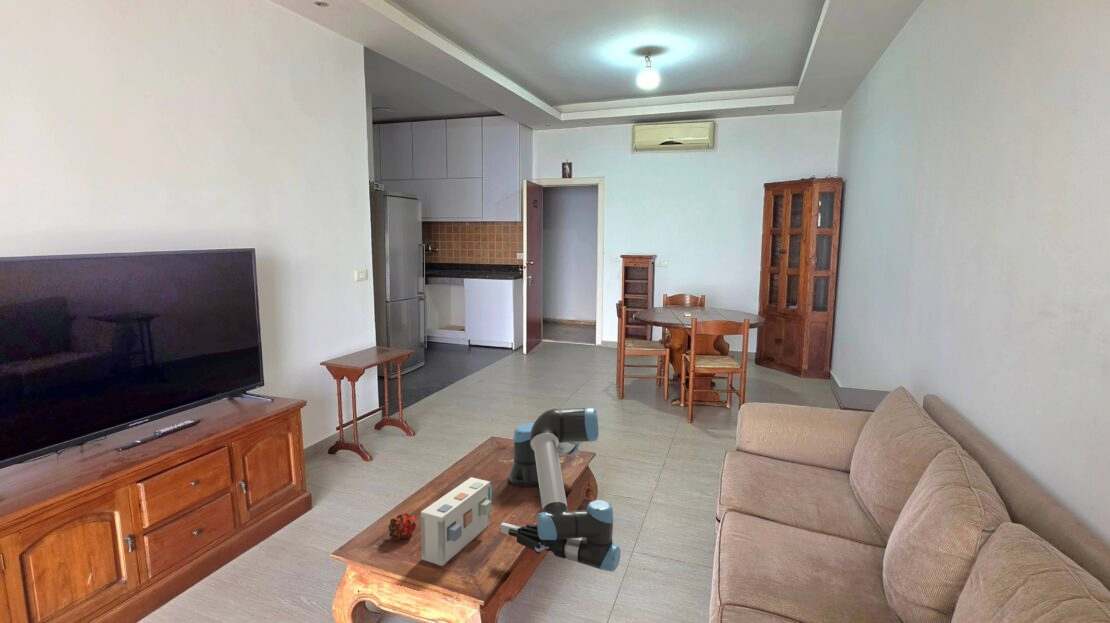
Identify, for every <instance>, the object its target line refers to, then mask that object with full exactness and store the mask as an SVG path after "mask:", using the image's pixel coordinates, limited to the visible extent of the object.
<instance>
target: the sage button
mask: <svg viewBox="0 0 1110 623" xmlns="http://www.w3.org/2000/svg"><path fill="white" fill-rule="evenodd" d="M489 512H490V513H491V512H492V500H491V501H489V500H485V499H483V500H482V501H480V502H479V514H482V515H487V514H488V513H489Z"/></svg>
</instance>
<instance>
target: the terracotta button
mask: <svg viewBox="0 0 1110 623" xmlns="http://www.w3.org/2000/svg"><path fill="white" fill-rule="evenodd" d="M471 522H472V511H467V512H466V513H465V514H464V515H463V526H468V525H469V524H470V523H471Z"/></svg>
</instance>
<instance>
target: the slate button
mask: <svg viewBox="0 0 1110 623" xmlns="http://www.w3.org/2000/svg"><path fill="white" fill-rule="evenodd" d="M461 536H462V528H461V525H459V524H456V523H452V524H451V525H450V526H448V527H447V539H449V540H452V541H456V540H457V539H458V538H460V537H461Z"/></svg>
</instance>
